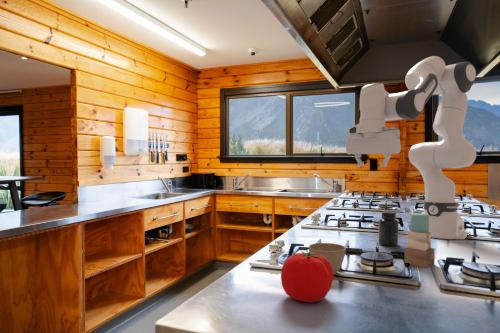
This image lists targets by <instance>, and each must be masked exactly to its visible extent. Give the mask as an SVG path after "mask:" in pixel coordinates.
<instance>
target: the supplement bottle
mask: <svg viewBox="0 0 500 333" xmlns="http://www.w3.org/2000/svg"><path fill="white" fill-rule="evenodd" d="M396 215H397V212H394V211H387V210H386V211H381V218H380V219H379V220H378V243H379V245H381V246H385V247H397V246H399V225H400V224H399V221H398V220H397V219H396V218H397V216H396Z"/></svg>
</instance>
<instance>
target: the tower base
mask: <svg viewBox="0 0 500 333" xmlns="http://www.w3.org/2000/svg"><path fill="white" fill-rule="evenodd" d="M435 249H436V248H433V247H431V248H429V249H428V250H426V251H423V250H417V249H411V248H408V246H406V247H404V261H403V262H404V263H409V264H410V265H409V266H413V267H417V268H421V269H426V268H429V267H433V266H434V265H435V258H436V257H435ZM433 264H434V265H433Z"/></svg>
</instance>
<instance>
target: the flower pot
mask: <svg viewBox="0 0 500 333" xmlns="http://www.w3.org/2000/svg"><path fill="white" fill-rule="evenodd" d="M308 250H309V251H308V253H311V254H317V255H320V256H323V257H325V258H326V259H327V260H328V262H329V263H330V265H331V267H332V269H333V276H334V275H336V274H337V273H338V272H339V271H340V269H341V267H342V265H343V263H344V259H345V256H346V251H347V248H346V246H345V245H343V244H342V245H341V244H338V243H329V242H317V243H311V244H310V245H308Z"/></svg>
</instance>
